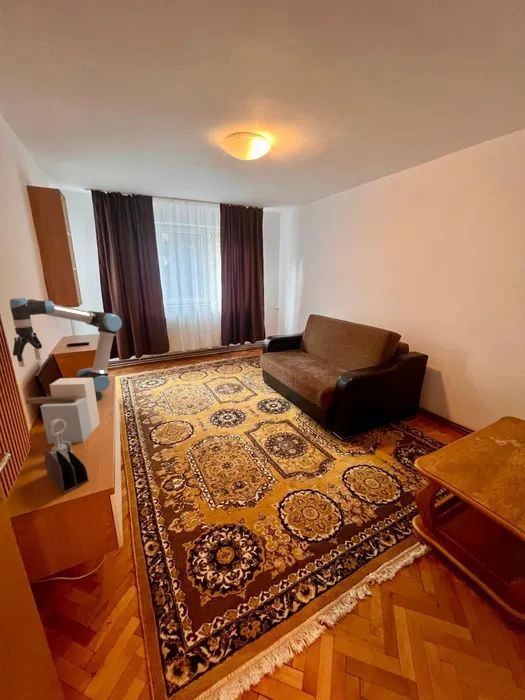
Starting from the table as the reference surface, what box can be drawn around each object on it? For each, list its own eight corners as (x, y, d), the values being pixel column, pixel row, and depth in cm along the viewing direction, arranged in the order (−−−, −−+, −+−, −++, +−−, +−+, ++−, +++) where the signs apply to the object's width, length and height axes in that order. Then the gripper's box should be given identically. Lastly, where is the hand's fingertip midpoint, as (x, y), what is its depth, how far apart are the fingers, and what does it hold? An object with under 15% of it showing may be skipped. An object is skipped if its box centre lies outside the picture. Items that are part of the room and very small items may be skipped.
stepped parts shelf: (68, 424, 172) (60, 378, 164) (99, 423, 174) (92, 377, 166) (48, 443, 153) (37, 392, 145) (83, 442, 155) (74, 391, 147)
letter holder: (63, 495, 118) (57, 466, 114) (47, 474, 130) (41, 447, 126) (89, 481, 126) (84, 454, 122) (71, 463, 137) (66, 438, 134)
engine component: (43, 462, 137) (60, 465, 136) (35, 425, 132) (53, 427, 130) (62, 449, 148) (79, 452, 146) (55, 414, 142) (72, 416, 141)
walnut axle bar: (30, 401, 152) (29, 397, 152) (77, 400, 155) (76, 396, 154) (26, 403, 150) (25, 399, 149) (74, 402, 152) (73, 398, 151)
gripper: (31, 322, 169) (38, 356, 175) (-2, 330, 145) (7, 370, 151) (45, 322, 170) (51, 356, 176) (14, 330, 146) (22, 369, 152)
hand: (31, 362), depth 163 cm, fingers open, 13 cm apart
